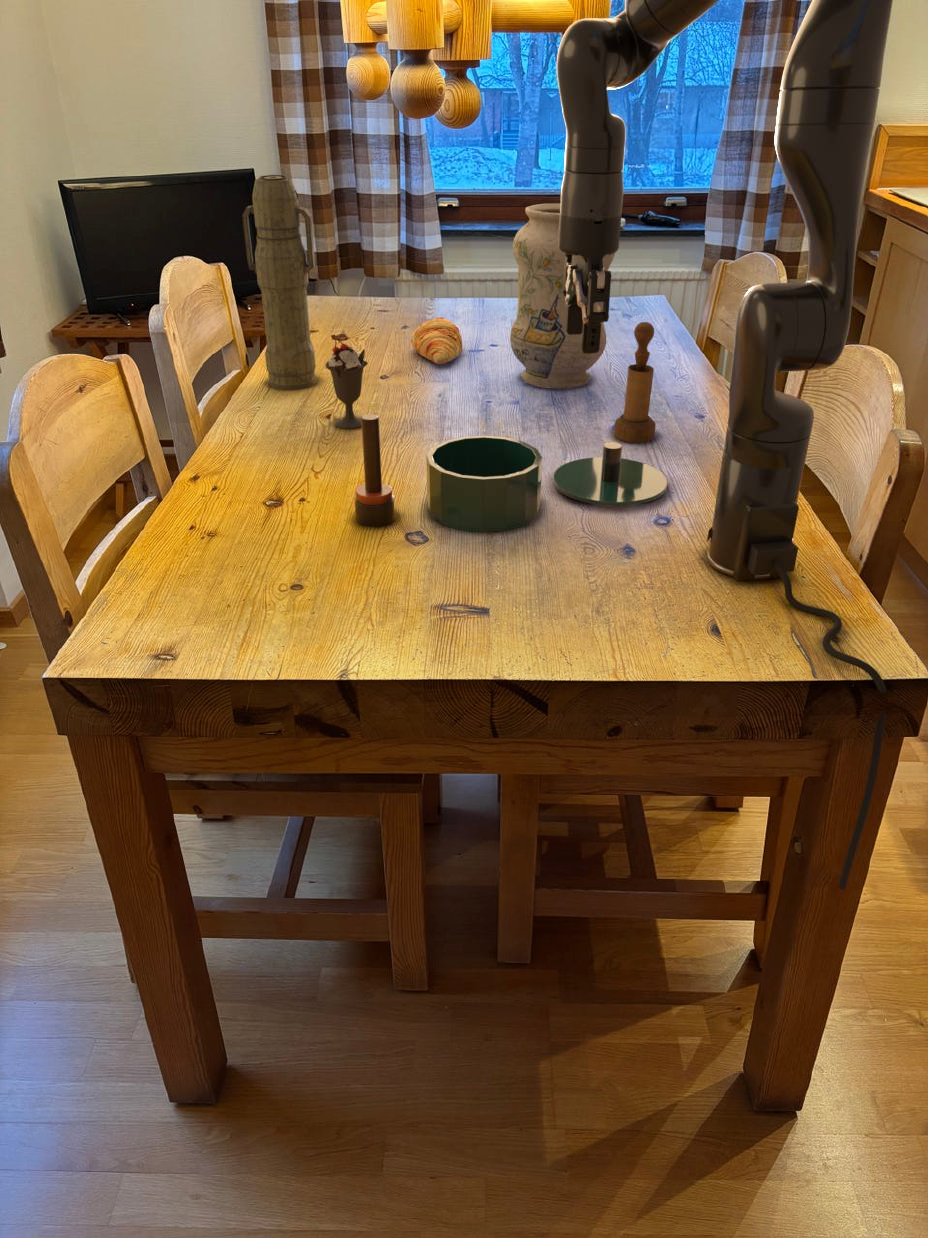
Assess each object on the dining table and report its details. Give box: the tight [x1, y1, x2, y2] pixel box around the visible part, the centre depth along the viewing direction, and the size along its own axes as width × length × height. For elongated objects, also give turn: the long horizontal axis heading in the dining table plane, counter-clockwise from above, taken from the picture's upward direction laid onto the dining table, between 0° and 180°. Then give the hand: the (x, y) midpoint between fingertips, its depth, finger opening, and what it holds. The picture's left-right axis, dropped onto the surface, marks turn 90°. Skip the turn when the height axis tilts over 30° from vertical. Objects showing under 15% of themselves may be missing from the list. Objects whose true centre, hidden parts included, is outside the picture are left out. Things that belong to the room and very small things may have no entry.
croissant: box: [410, 317, 463, 365], centre depth 194 cm, size 21×10×8 cm, turn 7°
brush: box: [354, 413, 396, 528], centre depth 126 cm, size 5×5×14 cm
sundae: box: [325, 334, 369, 430], centre depth 157 cm, size 7×7×15 cm
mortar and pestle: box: [613, 321, 657, 444], centre depth 151 cm, size 7×6×18 cm
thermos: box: [241, 174, 317, 390], centre depth 170 cm, size 9×12×35 cm
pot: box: [425, 435, 543, 533], centre depth 130 cm, size 15×15×8 cm
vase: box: [509, 203, 616, 390], centre depth 173 cm, size 18×18×30 cm
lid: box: [552, 441, 668, 507], centre depth 137 cm, size 16×16×6 cm
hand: (581, 342), depth 126 cm, fingers open, 8 cm apart
